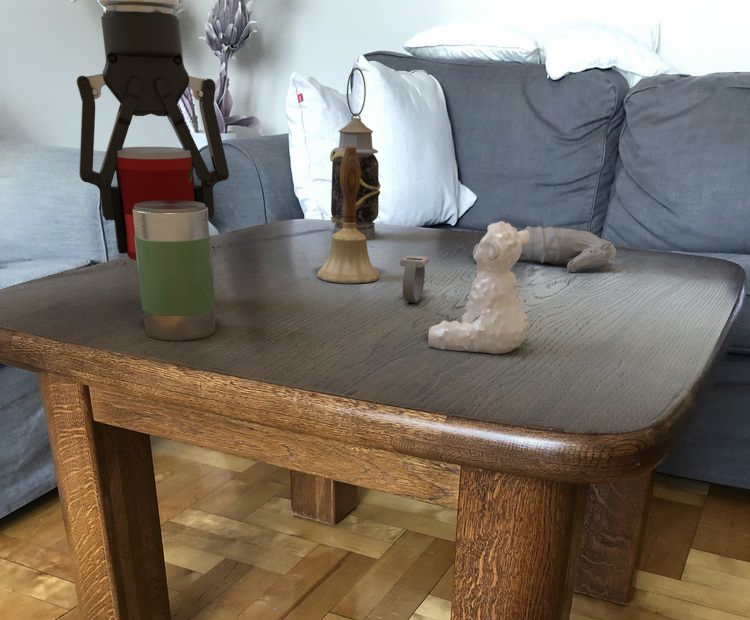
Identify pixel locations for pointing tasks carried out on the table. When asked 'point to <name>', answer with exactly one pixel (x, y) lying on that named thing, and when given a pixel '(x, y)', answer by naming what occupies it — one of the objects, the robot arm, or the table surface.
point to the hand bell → (349, 233)
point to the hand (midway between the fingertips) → (162, 249)
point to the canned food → (151, 181)
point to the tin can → (175, 269)
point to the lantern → (369, 179)
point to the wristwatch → (413, 277)
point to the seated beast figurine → (490, 299)
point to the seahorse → (566, 248)
